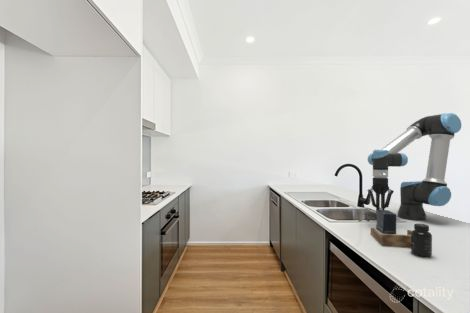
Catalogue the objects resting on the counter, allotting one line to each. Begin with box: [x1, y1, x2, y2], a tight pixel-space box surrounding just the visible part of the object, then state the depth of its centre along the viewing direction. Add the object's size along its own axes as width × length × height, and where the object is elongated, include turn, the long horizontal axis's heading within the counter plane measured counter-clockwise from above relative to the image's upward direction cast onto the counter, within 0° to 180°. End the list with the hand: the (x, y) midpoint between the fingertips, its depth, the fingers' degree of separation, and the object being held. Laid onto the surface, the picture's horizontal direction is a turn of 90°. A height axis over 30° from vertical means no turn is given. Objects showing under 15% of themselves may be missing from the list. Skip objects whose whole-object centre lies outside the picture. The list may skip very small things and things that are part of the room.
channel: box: [370, 227, 413, 249], centre depth 119 cm, size 18×18×5 cm
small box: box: [375, 209, 397, 234], centre depth 134 cm, size 11×6×10 cm, turn 168°
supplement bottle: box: [410, 223, 433, 258], centre depth 103 cm, size 7×7×12 cm
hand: (380, 219), depth 142 cm, fingers closed
